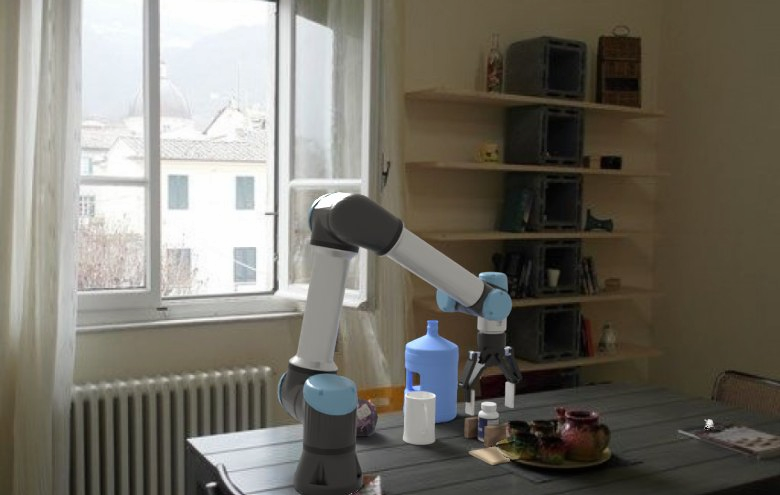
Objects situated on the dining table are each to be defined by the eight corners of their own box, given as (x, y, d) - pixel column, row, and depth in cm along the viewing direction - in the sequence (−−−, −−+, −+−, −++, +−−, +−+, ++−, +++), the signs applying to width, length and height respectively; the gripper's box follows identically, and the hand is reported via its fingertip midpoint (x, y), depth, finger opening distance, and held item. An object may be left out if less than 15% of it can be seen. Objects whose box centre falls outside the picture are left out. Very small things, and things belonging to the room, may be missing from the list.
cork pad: (492, 465, 183) (492, 462, 183) (468, 453, 191) (468, 451, 191) (520, 459, 188) (520, 456, 188) (496, 448, 196) (496, 446, 196)
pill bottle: (474, 437, 204) (475, 401, 204) (492, 435, 206) (493, 400, 205) (482, 443, 199) (483, 406, 199) (501, 442, 201) (502, 405, 200)
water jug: (457, 410, 230) (461, 318, 228) (455, 425, 214) (458, 327, 212) (406, 406, 232) (409, 315, 230) (399, 421, 216) (402, 324, 214)
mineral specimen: (334, 432, 199) (338, 394, 202) (344, 437, 208) (348, 400, 212) (370, 435, 197) (374, 396, 200) (379, 439, 206) (382, 402, 209)
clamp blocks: (487, 447, 196) (488, 428, 196) (464, 436, 205) (464, 418, 204) (514, 442, 201) (515, 423, 201) (490, 431, 210) (491, 413, 209)
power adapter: (715, 431, 217) (716, 421, 217) (708, 432, 216) (709, 421, 216) (707, 428, 220) (708, 418, 220) (700, 429, 219) (700, 418, 219)
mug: (440, 449, 194) (442, 402, 193) (407, 449, 193) (408, 403, 192) (431, 434, 206) (433, 390, 205) (400, 434, 205) (401, 390, 204)
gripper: (463, 337, 191) (461, 421, 192) (536, 329, 204) (534, 407, 206) (445, 332, 197) (443, 413, 199) (517, 325, 210) (515, 400, 212)
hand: (489, 410), depth 202 cm, fingers open, 13 cm apart
